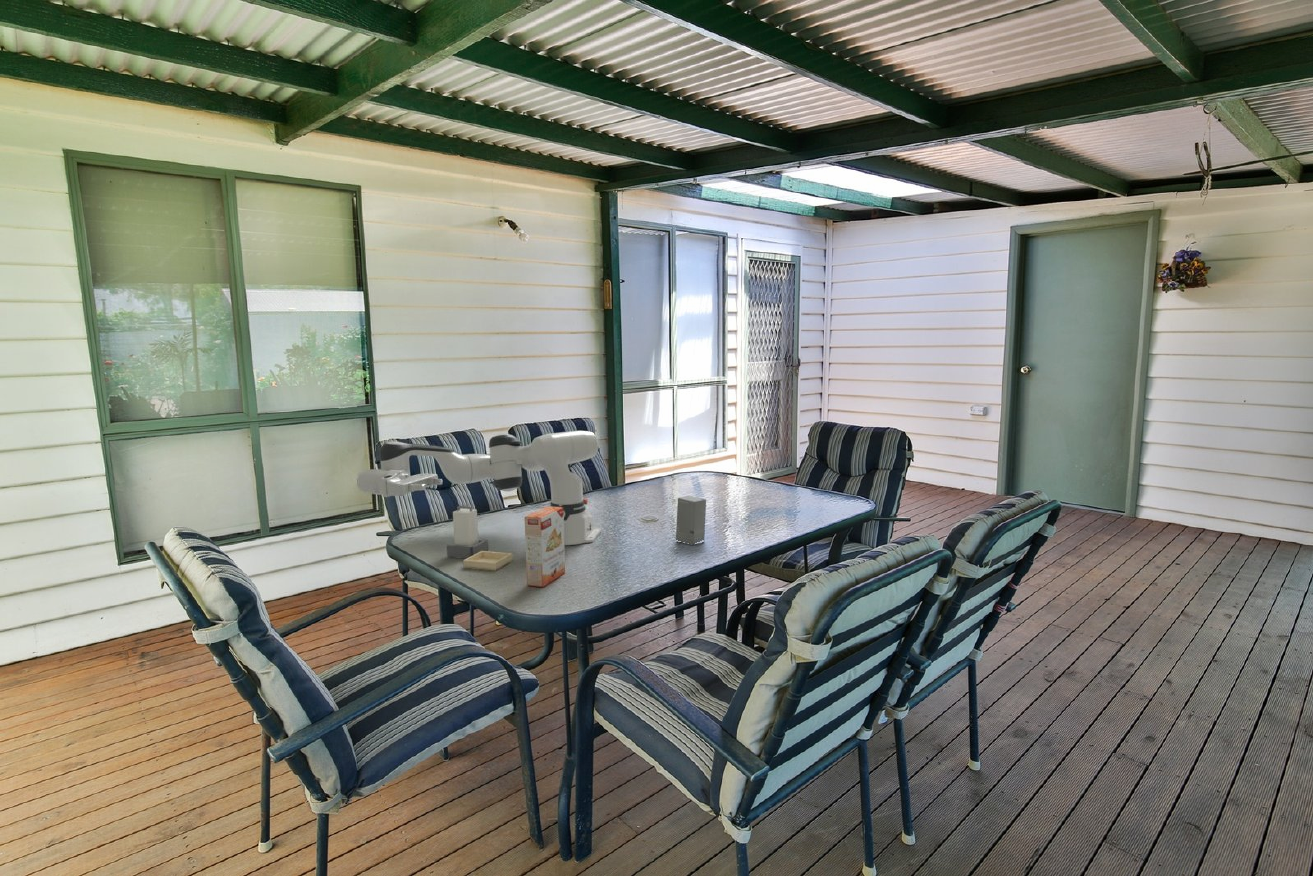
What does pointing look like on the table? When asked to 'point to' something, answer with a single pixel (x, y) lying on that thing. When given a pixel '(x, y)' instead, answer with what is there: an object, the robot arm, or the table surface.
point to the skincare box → (690, 519)
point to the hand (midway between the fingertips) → (432, 484)
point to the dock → (466, 549)
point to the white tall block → (465, 526)
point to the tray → (488, 560)
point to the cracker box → (544, 546)
